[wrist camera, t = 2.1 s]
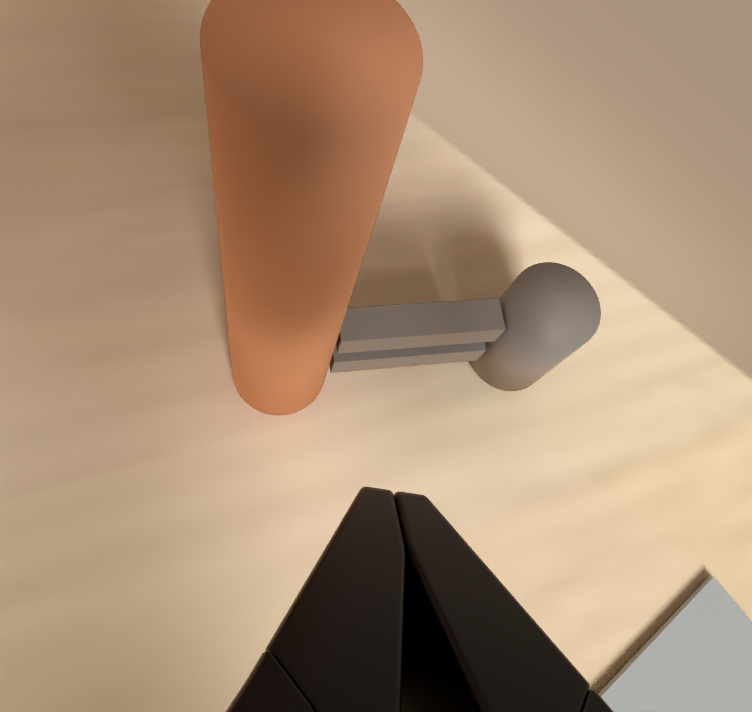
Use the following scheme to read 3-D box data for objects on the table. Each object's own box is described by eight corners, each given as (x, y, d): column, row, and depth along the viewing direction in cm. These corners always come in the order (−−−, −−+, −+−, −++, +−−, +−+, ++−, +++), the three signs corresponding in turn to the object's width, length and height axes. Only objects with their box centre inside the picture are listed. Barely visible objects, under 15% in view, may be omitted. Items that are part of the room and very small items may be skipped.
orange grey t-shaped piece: (534, 311, 25) (854, -17, 11) (552, 389, 24) (923, 130, 11) (229, 332, 22) (193, -44, 9) (236, 420, 21) (207, 139, 8)
